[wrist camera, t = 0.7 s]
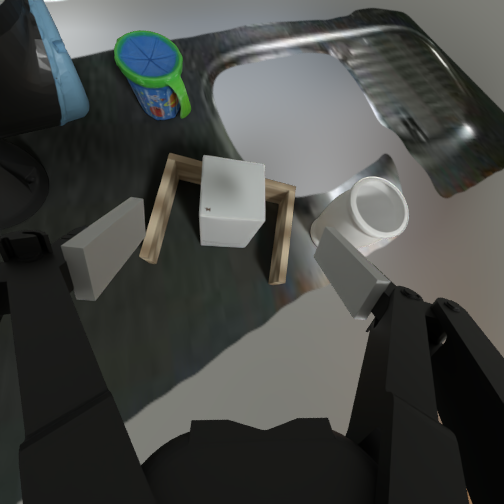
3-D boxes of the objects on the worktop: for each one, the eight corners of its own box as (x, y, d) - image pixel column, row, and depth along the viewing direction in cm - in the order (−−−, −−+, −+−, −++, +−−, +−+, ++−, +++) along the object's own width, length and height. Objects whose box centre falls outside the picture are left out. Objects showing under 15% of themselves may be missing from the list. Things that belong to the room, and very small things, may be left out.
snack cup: (114, 90, 43) (87, 30, 33) (157, 71, 46) (144, 10, 37) (165, 146, 43) (153, 101, 33) (204, 122, 46) (204, 75, 36)
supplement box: (246, 248, 42) (267, 223, 28) (199, 245, 40) (197, 216, 26) (246, 206, 44) (266, 162, 30) (203, 202, 42) (202, 152, 28)
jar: (347, 215, 49) (405, 181, 35) (349, 259, 47) (413, 241, 32) (304, 209, 47) (348, 170, 32) (305, 254, 44) (353, 234, 30)
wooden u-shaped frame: (274, 284, 42) (285, 282, 36) (149, 262, 38) (139, 256, 32) (284, 200, 46) (295, 186, 40) (174, 172, 42) (169, 152, 36)
